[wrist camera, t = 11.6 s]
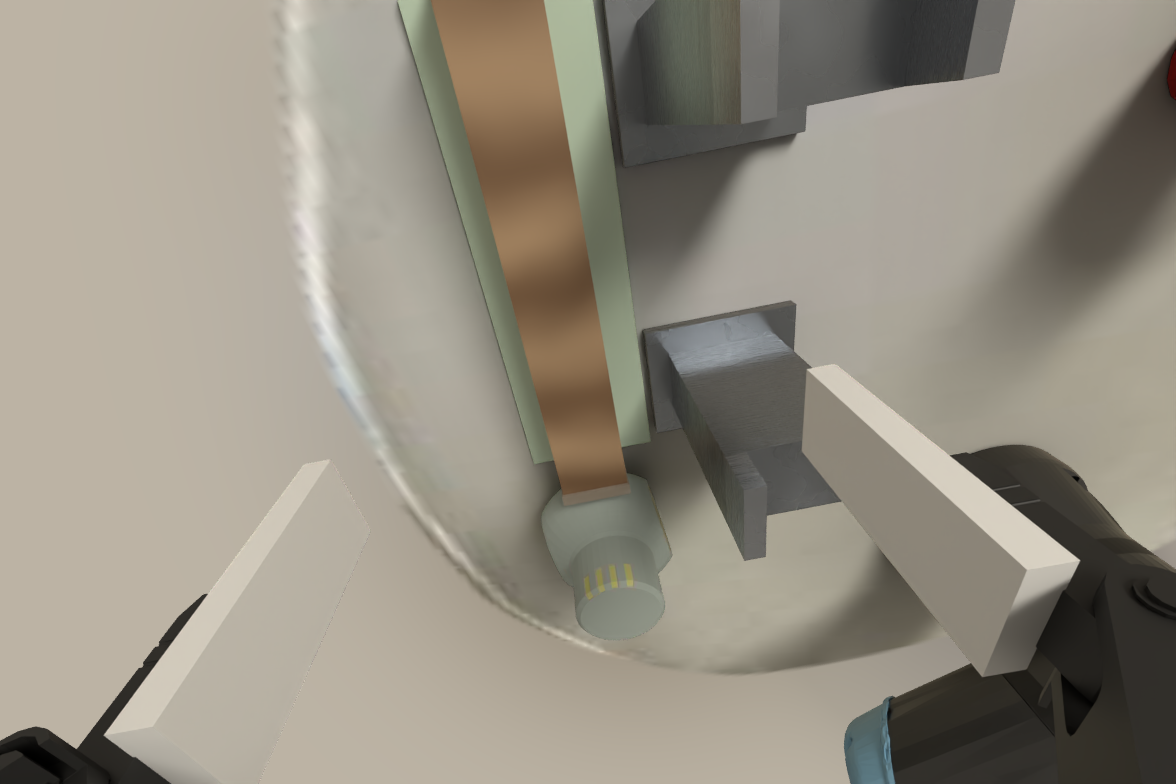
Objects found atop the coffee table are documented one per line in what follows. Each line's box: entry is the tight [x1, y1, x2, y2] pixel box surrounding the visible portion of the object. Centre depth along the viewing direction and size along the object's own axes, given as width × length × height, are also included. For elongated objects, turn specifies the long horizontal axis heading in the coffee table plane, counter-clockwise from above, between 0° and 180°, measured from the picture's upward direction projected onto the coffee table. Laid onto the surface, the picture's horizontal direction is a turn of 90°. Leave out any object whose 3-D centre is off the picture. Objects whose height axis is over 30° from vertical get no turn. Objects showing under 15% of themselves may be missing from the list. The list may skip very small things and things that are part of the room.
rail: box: [431, 0, 631, 506], centre depth 27 cm, size 29×5×5 cm, turn 10°
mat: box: [397, 0, 651, 464], centre depth 29 cm, size 28×9×1 cm, turn 10°
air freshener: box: [541, 473, 672, 640], centre depth 35 cm, size 11×8×10 cm
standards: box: [602, 0, 1015, 561], centre depth 23 cm, size 26×10×14 cm, turn 10°
